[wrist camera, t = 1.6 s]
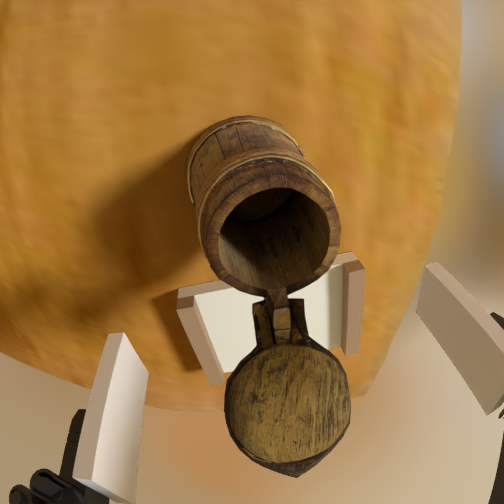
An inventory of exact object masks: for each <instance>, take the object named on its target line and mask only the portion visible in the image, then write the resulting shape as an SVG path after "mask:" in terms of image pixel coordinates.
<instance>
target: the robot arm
mask: <svg viewBox="0 0 504 504" xmlns="http://www.w3.org/2000/svg"><path fill="white" fill-rule="evenodd" d="M416 313H417V314H418V316H419V317H420V318H421V320H422V321H423V322H424V324H425V325H426V326H427V328H428V329H429V330H430V332H431V333H432V334H433V336H434V337H435V338H436V340H437V341H438V343H439V344H440V345H441V347H442V348H443V350H444V351H445V352H446V354H447V355H448V357H449V358H450V360H451V361H452V362H453V364H454V365H455V367H456V368H457V370H458V371H459V373H460V374H461V375H462V377H463V378H464V380H465V382H466V383H467V384H468V386H469V388H470V389H471V391H472V392H473V394H474V395H475V397H476V399H477V400H478V402H479V403H480V405H481V407H482V408H483V410H484V411H485V413H486V415H489V414H490V413H492V412H493V411H494V410H496V409H497V408H499V407H500V406H501V405H502V403H503V402H504V318H503V317H501V316H499V315H498V314H496V313H494V312H493V313H491V314H489V313H488V312H487V311H486V310H485V309H484V308H483V307H482V306H481V305H480V303H479V302H478V301H477V300H476V299H475V298H474V297H473V296H472V295H471V294H470V293H469V292H468V291H467V290H466V289H465V288H464V287H463V286H462V285H461V284H460V283H459V282H458V281H457V280H456V279H455V278H454V277H453V276H452V275H451V274H450V273H449V272H447V270H445V269H444V268H443V267H442V266H441V265H440V264H439V263H438V262H435V263H432V264H428V265H425V266H424V272H423V278H422V284H421V289H420V295H419V300H418V305H417V309H416ZM148 375H149V373H148V371H147V369H146V368H145V366H144V365H143V363H142V362H141V360H140V358H139V357H138V355H137V353H136V352H135V350H134V349H133V347H132V345H131V343H130V342H129V340H128V338H127V337H126V335H125V333H124V332H120V333H113V334H108V337H107V340H106V343H105V347H104V350H103V353H102V356H101V359H100V363H99V366H98V369H97V373H96V376H95V379H94V383H93V387H92V390H91V394H90V398H89V401H88V405H87V409H79V410H78V411H77V413H76V414H75V416H74V417H73V419H72V422H71V425H70V430H69V432H70V433H69V434H68V437H67V443H66V446H65V450H64V455H63V460H62V465H61V470H60V474H59V476H58V475H56V474H55V473H53V472H52V471H50V470H48V469H40V470H37V471H36V472H35V473H34V474H33V475H32V477H31V480H30V489H28V488H27V487H25V486H23V485H16V486H14V487H13V488H12V490H11V491H10V495H9V503H10V504H109V499H111V500H113V501H115V502H118V503H125V504H136V486H137V472H138V459H139V448H140V438H141V428H142V419H143V411H144V403H145V396H146V388H147V382H148ZM503 415H504V409H503V410H502V412H501V413H500V415H499V418H501V417H502V416H503ZM488 504H504V433H503V440H502V447H501V453H500V459H499V463H498V468H497V473H496V477H495V481H494V485H493V489H492V493H491V496H490V500H489V503H488Z"/></svg>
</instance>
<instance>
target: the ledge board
mask: <svg viewBox="0 0 504 504" xmlns="http://www.w3.org/2000/svg"><path fill="white" fill-rule="evenodd" d="M364 281H365V268H364V267H363V265H362V264H361V263H360V261H359V260H358V259H357V258H356V256H355V255H354V254H353V252H352V251H351V252H347V253H342V254H338V255H337V256H336V258H335V260H334V262H333V263H332V265H331V267H330V269H329V270H328V271H327V272H326V273H325V274H324V275H323V276H322V277H320V278H319V279H318V280H317V281H315V282H313V283H311V284H310V285H308V286H306V287H305V288H303V289H300V290H298V291H296V292H294V293H292V294H289V295H288V298H303V299H304V307H305V318H306V323H307V329H308V334H309V336H310V337H311V338H312V339H313V340H315V341H316V342H317V343H319V344H320V345H322V346H323V347H324V348H326V349H327V350H330V349H334V348H337V347H341V348H342V350H343V352H344V354H345V356H348V355H351V354H355V353H358V350H359V342H360V332H361V322H362V311H363V297H364ZM262 300H264V297H259V296H254V295H250V294H247V293H244V292H241V291H238V290H237V289H235V288H233V287H232V286H230V285H228V284H226V283H225V282H223V281H221V280H218V281H213V282H208V283H203V284H198V285H193V286H188V287H183V288H179V290H178V298H177V306H176V311H177V313H178V316H179V318H180V320H181V323H182V325H183V327H184V330H185V332H186V334H187V336H188V338H189V341H190V343H191V345H192V347H193V349H194V352H195V354H196V356H197V358H198V360H199V362H200V364H201V366H202V369H203V371H204V373H205V375H206V377H207V379H208V381H209V383H210V385H211V386H212V385H219V384H225V380H224V373H225V372H231V371H234V369H235V368H236V366H237V365H238V364H239V362H240V361H241V360H242V359H243V358H244V357H245V356H247V355H248V354H249V353H250V352H251V351H252V350H253V349H254V348H255V347H256V345H257V344H256V336H255V329H254V321H253V315H252V303H256V302H259V301H262Z"/></svg>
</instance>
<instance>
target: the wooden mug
mask: <svg viewBox="0 0 504 504" xmlns="http://www.w3.org/2000/svg"><path fill="white" fill-rule="evenodd" d="M186 174H187V183H188V190H189V195H190V198H191V201H192V203H193V205H194V207H195V208H196V228H197V234H198V238H199V242H200V245H201V248H202V251H203V254H204V256H205V258H206V259H207V261H208V262H209V264H210V267H211V269H212V270H213V271H214V273H215V274H216V275H217V277H218V278H219V279H220V280H221V281H223V282H225V283H226V284H228V285H230V286H232V287H233V288H235V289H237V290H238V291H241V292H244V293H247V294H250V295H254V296H259V297H264V300H262V301H259V302H256V303H252V315H253V321H254V329H255V336H256V344H257V345H256V347H255V348H254V349H253V350H252V351H251V352H250V353H249V354H248V355H247V356H245V357H244V358H243V359H242V360H241V361H240V362H239V364H238V365H237V366H236V368H235V369H234V371H233V372H232V374H231V375H230V377H229V378H228V379H227V384H226V390H225V399H224V412H225V419H226V424H227V427H228V430H229V433H230V436H231V437H232V439H233V441H234V442H235V444H236V445H237V447H238V448H239V449H240V450H241V451H242V452H243V453H244V454H245V455H246V456H247V457H249V458H250V459H251V460H252V461H254V462H256V463H257V464H259V465H261V466H263V467H265V468H268V469H270V470H273V471H275V472H278V473H281V474H284V475H288V476H291V477H295V478H298V477H299V476H300V475H302V474H303V473H305V472H306V471H308V470H310V469H311V468H312V467H314V466H315V465H317V463H319V462H320V461H321V460H322V459H323V458H324V457H325V456H326V455H327V454H328V453H330V452H331V451H332V449H333V448H334V447H335V446H336V445H337V443H338V442H339V441H340V440H341V439H342V437H343V436H344V434H345V432H346V429H347V428H348V426H349V424H350V413H351V400H350V394H349V388H348V382H347V377H346V373H345V371H344V369H343V367H342V365H341V363H340V362H339V360H338V359H337V358H336V357H335V356H334V355H333V354H332V353H331V352H330V351H329V350H327V349H326V348H324V347H323V346H322V345H320V344H319V343H317V342H316V341H315V340H313V339H312V338H311V337H310V336H309V334H308V329H307V323H306V318H305V307H304V299H303V298H288V295H289V294H292V293H294V292H296V291H298V290H300V289H303V288H305V287H306V286H308V285H310V284H311V283H313V282H315V281H317V280H318V279H319V278H320V277H322V276H323V275H324V274H325V273H326V272H327V271H328V270H329V269H330V267H331V265H332V263H333V262H334V260H335V258H336V256H337V252H338V249H339V245H340V235H341V224H340V220H339V215H338V211H337V207H336V203H335V199H334V195H333V192H332V191H331V189H330V188H329V187H328V185H327V184H326V182H325V181H324V179H323V178H322V176H321V175H320V174H319V172H318V171H317V170H316V169H315V168H314V167H313V166H312V165H311V164H310V163H309V162H308V161H307V160H306V159H305V156H304V153H303V151H302V150H301V148H300V147H299V145H298V144H297V143H296V141H295V139H294V137H293V136H292V135H291V134H290V133H289V132H288V131H287V130H286V129H285V128H284V127H283V126H282V125H281V124H278V123H276V122H273V121H271V120H268V119H265V118H261V117H255V116H237V117H231V118H229V119H226V120H223V121H220V122H218V123H216V124H215V125H213V126H212V127H210V128H209V129H207V130H206V131H204V132H203V133H202V135H201V136H200V137H199V138H198V140H197V141H196V142H195V143H194V145H193V147H192V149H191V151H190V154H189V156H188V158H187V171H186Z"/></svg>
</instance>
